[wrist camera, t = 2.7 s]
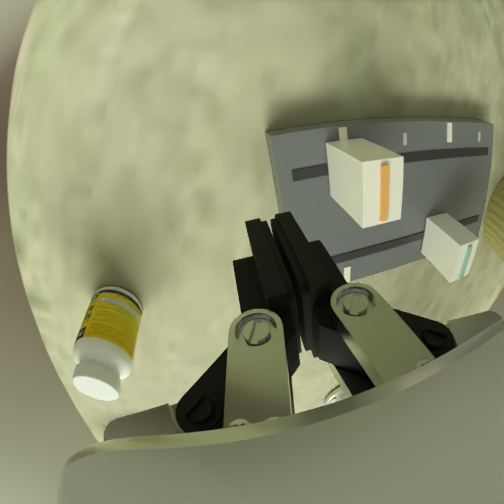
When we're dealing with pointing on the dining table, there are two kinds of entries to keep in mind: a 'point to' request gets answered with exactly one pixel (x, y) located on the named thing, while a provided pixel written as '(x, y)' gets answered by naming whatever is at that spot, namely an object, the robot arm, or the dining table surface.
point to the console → (414, 184)
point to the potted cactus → (496, 221)
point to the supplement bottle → (107, 343)
